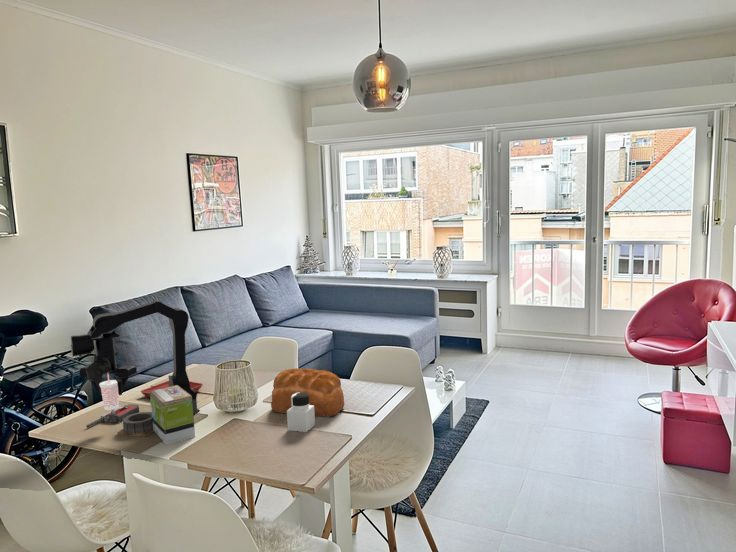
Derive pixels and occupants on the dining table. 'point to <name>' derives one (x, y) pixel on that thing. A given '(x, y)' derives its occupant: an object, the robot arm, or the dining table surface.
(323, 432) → the dining table surface
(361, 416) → the dining table surface
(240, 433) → the dining table surface
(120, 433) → the cup holder
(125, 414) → the walkie-talkie
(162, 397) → the tea box
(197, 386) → the plant saucer
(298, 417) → the medicine bottle
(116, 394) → the beverage cup
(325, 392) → the bread
